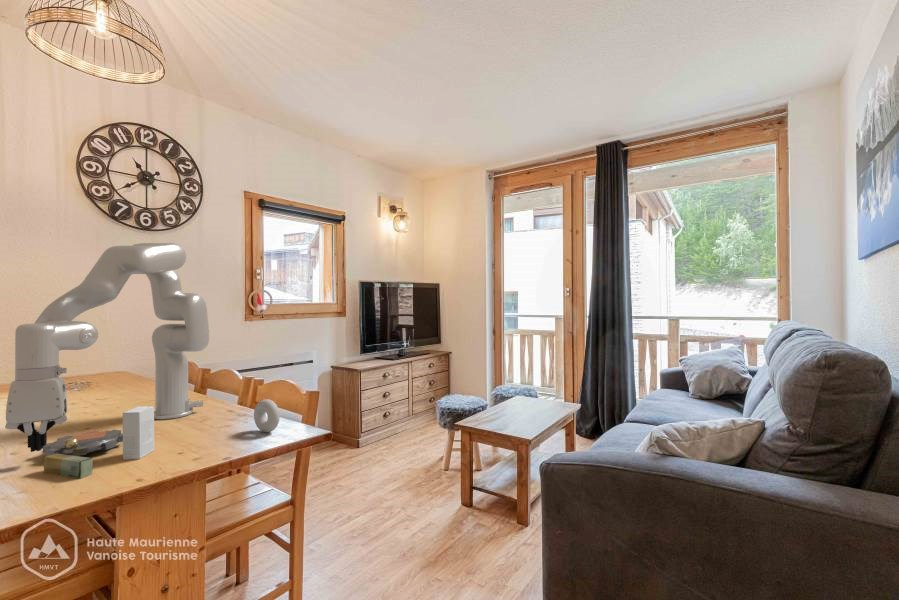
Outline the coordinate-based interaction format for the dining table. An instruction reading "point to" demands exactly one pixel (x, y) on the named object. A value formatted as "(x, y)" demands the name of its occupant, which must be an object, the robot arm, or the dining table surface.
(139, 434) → the skincare box
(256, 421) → the donut
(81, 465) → the medication box
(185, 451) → the dining table surface
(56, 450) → the notched metal plate
